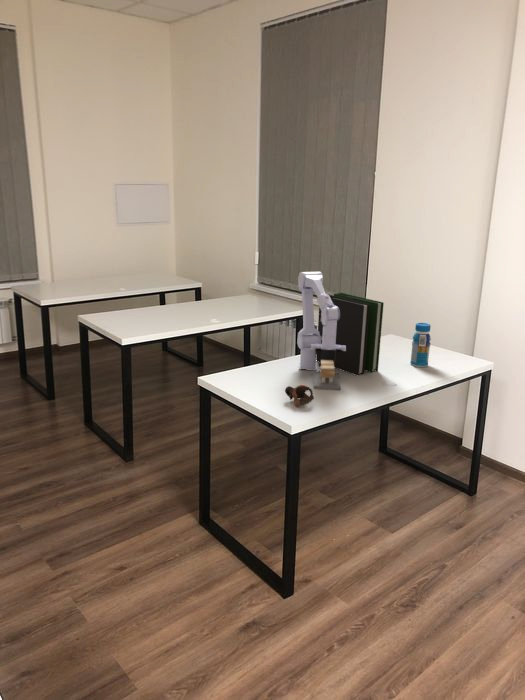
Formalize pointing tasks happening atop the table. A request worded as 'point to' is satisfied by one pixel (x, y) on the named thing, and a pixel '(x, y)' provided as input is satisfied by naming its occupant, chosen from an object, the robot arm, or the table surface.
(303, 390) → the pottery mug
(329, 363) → the shelf board
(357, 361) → the binder
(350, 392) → the table surface
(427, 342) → the beverage bottle
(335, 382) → the peg stand
